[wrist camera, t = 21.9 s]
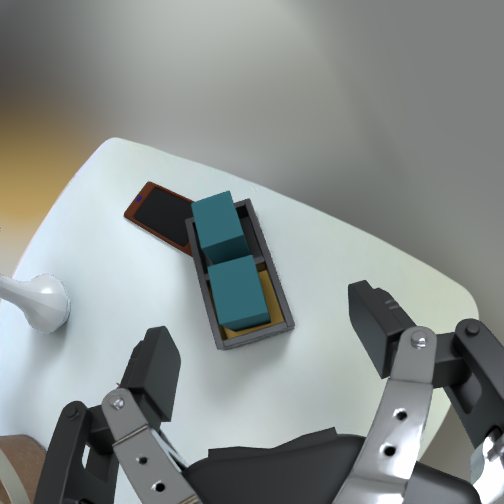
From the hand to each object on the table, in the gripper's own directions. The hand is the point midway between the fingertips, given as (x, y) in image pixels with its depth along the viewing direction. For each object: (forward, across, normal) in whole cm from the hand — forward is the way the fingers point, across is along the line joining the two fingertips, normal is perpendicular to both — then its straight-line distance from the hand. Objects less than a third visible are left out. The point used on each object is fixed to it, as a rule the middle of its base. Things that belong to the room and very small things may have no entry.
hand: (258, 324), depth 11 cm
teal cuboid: (+24, +3, +5) cm, 24 cm away
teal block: (+18, +2, +11) cm, 21 cm away
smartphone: (+30, +11, +1) cm, 32 cm away
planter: (0, +47, +30) cm, 56 cm away
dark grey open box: (+21, +3, +9) cm, 23 cm away
